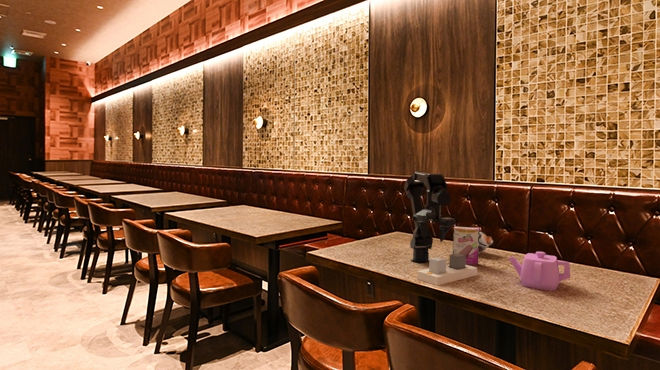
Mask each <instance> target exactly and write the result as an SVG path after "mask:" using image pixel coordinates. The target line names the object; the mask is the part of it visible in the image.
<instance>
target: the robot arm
mask: <svg viewBox="0 0 660 370" xmlns="http://www.w3.org/2000/svg"><path fill="white" fill-rule="evenodd" d="M425 187H426V189H425V191H426V204H425V205H424V208H423V204H422V203H423V202H422V195H423V193H424V188H425ZM403 188H404V191H405V194H406V197H407V198H408V199H409V200H410V203H411V205H410V206H411V210H412V221H413V222H414V231H413V233H412V237H411V240H410V242H409V245H410V246H409V247H410V248H411V249H412V251H413V252H412V255H413V256H412V259H410V261H411V262H414V263H418V264H426V263H429V259H430V258H429V257H430V256H429V255H430V253H429V250H432V247H433V243H434V242H433V241H434V238H433V236H432V232H431V231H432V230H431V228H429V222H433V223H438V224H439V225H438V228H439V242H440V243H442V242H443V241H444V240H445V238H446V235H447V233H448V232H449V230H450V229H451V228H454V227H455V226H456V220H455V218H452V217H443V215H441V209H443V208H444V207H446V206H449V204H450V203H451V201H452V197H451V195H450V194H449V193H448V192H447V191H448V184H447V181H446V179H445V177H444V175H443V173H426V172H423V171H414V172H412V174H411V176H409V177H408V178H407V179H406V180H405V183H404V187H403Z"/></svg>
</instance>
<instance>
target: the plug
mask: <svg viewBox="0 0 660 370" xmlns="http://www.w3.org/2000/svg"><path fill="white" fill-rule="evenodd" d="M428 265H429V266H428V269H429V272H431V273H434V274H437V275H438V274H443V273H446V265H447V258H443V257H439V256H437V257H431V258H429V262H428Z"/></svg>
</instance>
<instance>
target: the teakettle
mask: <svg viewBox="0 0 660 370" xmlns="http://www.w3.org/2000/svg"><path fill="white" fill-rule="evenodd" d="M508 260H509V262H510V263H511V264H512V266H513V268H514V269H515V271H516V272H517V274H518V276H520V278H519V279H520V284H521V286H522V287H526V288H532V289H537V290H544V291H545V290H546V291H551V292H553V291H554V292H555V291H556V290H557V289H558V287H559V285H560V282H563V281H566V280H569V279H571V266H570V265H571V264H570V262H569V261H566V260H559V259H558V258H557V256H555V255H549V254H546V252H544V251H536V252H535V253H532V252H531V253H530V252H528V253H526V254H525V255H524V257H523V259H522V264H521V263H520V262H519V261H518V260H517V259H516V258H515V256H508ZM559 266H563V272H562V273H560V268H559Z"/></svg>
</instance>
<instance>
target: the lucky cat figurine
mask: <svg viewBox="0 0 660 370" xmlns="http://www.w3.org/2000/svg"><path fill="white" fill-rule="evenodd" d="M493 243H494V240H493V238H492V236H490V235H489V236H487V235H486V233H484V232H482V231H479V254H482V253H483V252H484V251H485V250H486V249H487V248H489V247H490V246H491V245H492V244H493Z"/></svg>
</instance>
